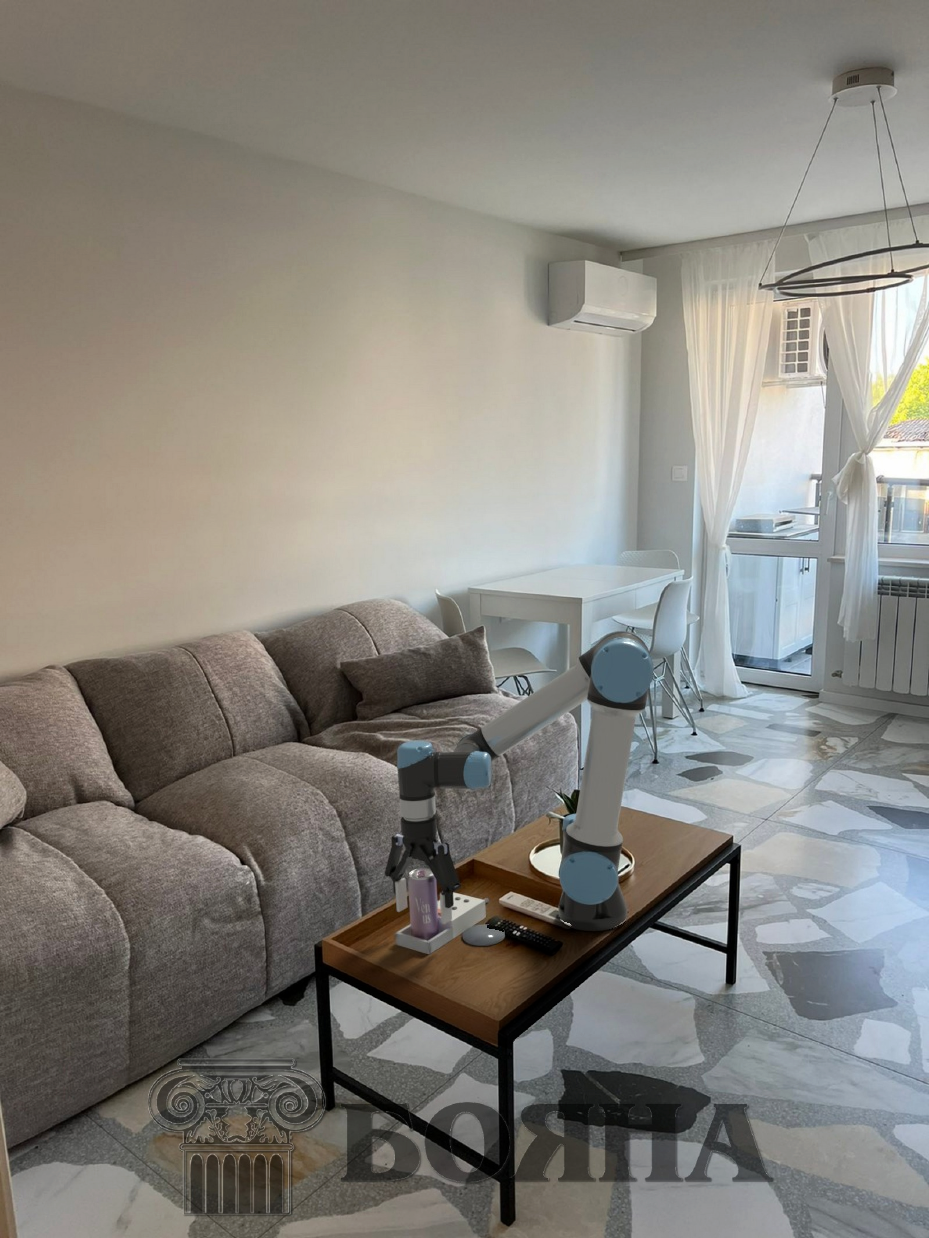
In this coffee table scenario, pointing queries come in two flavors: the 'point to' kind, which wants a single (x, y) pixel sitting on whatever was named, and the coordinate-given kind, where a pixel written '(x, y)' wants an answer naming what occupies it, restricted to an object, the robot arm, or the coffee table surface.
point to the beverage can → (423, 904)
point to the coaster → (482, 935)
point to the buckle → (446, 924)
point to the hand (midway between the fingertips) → (424, 915)
